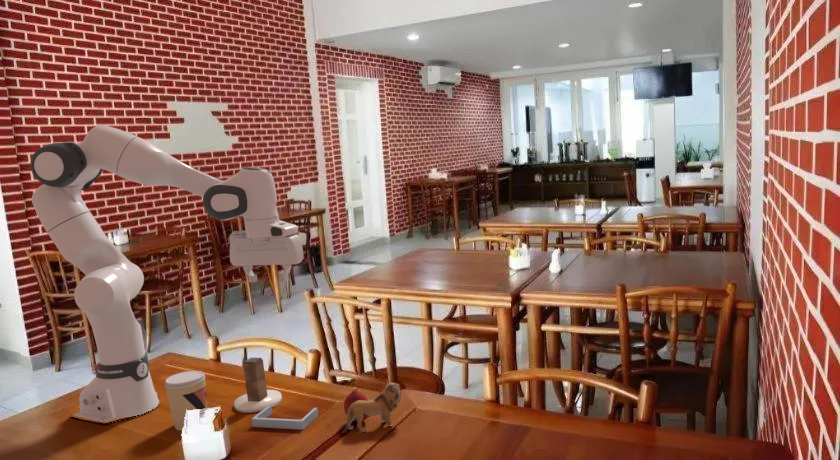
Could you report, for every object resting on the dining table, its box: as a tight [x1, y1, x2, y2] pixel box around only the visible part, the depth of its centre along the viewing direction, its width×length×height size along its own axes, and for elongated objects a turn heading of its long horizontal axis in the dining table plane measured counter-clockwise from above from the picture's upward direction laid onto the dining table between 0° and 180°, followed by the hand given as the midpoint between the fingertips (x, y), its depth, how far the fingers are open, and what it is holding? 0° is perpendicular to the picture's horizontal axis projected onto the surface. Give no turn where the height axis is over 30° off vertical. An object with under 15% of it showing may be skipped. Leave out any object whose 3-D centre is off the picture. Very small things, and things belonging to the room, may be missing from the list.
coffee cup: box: [164, 370, 208, 431], centre depth 155 cm, size 9×9×12 cm
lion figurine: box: [341, 382, 402, 433], centre depth 143 cm, size 15×5×9 cm, turn 114°
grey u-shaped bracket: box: [250, 406, 319, 431], centre depth 151 cm, size 14×8×2 cm, turn 72°
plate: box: [233, 389, 283, 414], centre depth 165 cm, size 12×12×1 cm
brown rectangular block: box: [242, 357, 268, 402], centre depth 164 cm, size 4×4×10 cm
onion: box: [343, 387, 369, 422], centre depth 147 cm, size 6×6×8 cm
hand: (269, 281), depth 166 cm, fingers open, 8 cm apart
